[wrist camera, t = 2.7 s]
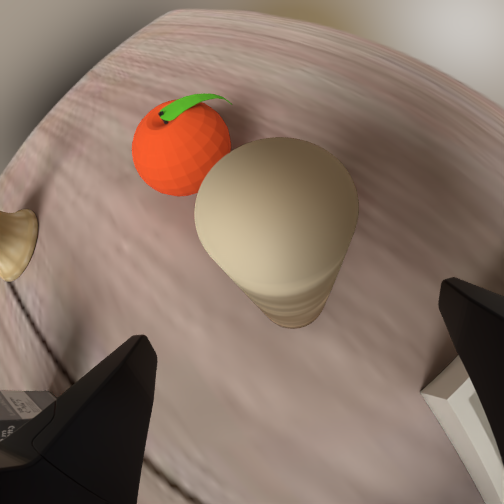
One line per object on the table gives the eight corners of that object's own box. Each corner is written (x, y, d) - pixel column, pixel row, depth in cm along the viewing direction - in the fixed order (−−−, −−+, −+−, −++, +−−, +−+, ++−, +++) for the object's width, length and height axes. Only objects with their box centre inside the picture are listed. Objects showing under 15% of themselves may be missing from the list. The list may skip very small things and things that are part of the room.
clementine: (222, 121, 24) (198, 58, 17) (269, 168, 22) (254, 98, 15) (145, 173, 24) (102, 120, 17) (179, 231, 21) (131, 179, 14)
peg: (284, 341, 17) (250, 319, 6) (248, 288, 19) (170, 191, 8) (338, 303, 18) (392, 217, 6) (300, 253, 19) (291, 116, 8)
